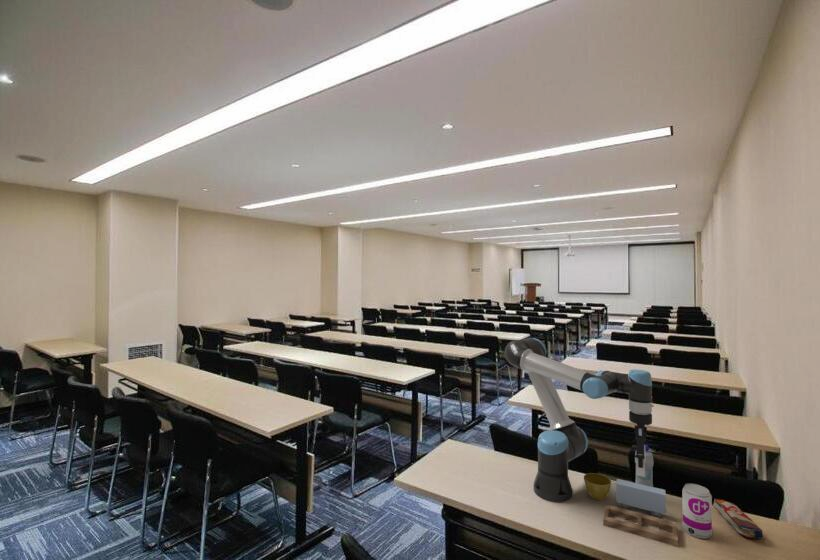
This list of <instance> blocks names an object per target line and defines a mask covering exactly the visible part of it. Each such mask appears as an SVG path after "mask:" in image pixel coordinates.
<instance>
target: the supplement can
mask: <svg viewBox="0 0 820 560" xmlns="http://www.w3.org/2000/svg"><path fill="white" fill-rule="evenodd" d="M681 497H682V498H681V499H682V501H681V502H682V503H681V504H682V506H681V507H682V513H681V515H682V520H681V521H682V523H681V524H682V526H681V527H682V528H683V530H685V532H686V533H687V534H689V535H690V536H692V537H695V538H698V539H702V540H703V539H709V538H710V537H712V535H713V512H712V511H713V501H712V500H713V499H712V498H713V495H712V494H711V493H710V489H708V488H707V487H705V486H704V485H703V486H702V485H700V484H697V483H685V484H684V486H683V488H682V495H681Z"/></svg>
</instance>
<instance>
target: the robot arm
mask: <svg viewBox="0 0 820 560" xmlns="http://www.w3.org/2000/svg"><path fill="white" fill-rule="evenodd" d="M546 356H547V348H546V345H545V344H544V343H543V342H542V341H541V340H540V339H538V338H534V337H526V338H522V339H515V340H511V341H509V342H508V343H507V345H506V346H505V348H504V357H505V360H506V361H507V362H508V364H509V365H511V366H513V367H515V368H517V369H520V370H522V371H523V372H524V373H525V372H526V373H527V374H528V377H529V379H530V381H531V383H532V386H533V387H534V390H535V393H536V394H537V398H538V400H539V402H540V404H541V406H542V409H543V411H544V413H545V415H546V418H547V420H548V423H549V425H550V426H549V429H548V430H545V431H543V432H541V433H539V436H538V439H537V472H536V476H535V478H534V481H533V492H534V493H535V494H536V495H537V496H538V497H540V499H541V498H542V499H544V500H547V501H550V502H555V503H562V502H563V503H564V502H568V501H570V500H571V499H572V498H573V493H574V492H573V491H574V490H573V486H572V483H571V481H570V477H569V462H571V461H573V460H574V459H576V458H578V457H579V458H580V457H581V456H582V455H583V454H584V453H585V452H586V451H587V449H588V445H589V440H588V436H587V434H586V432H585V431H584V430H583V429H582V428H580V427H579V426H577V424H576V422H575V421H574V420H573V419H571V418H570V417H569V415H568V413H567V410H566V408H565V406H564V404H563V402H562V400H561V397H560V395H559V392H558V391H557V388H556V386H555V384H554V382H553V380H554V381H556V382H559V383H562V384H564V385H567V386H569V387H571V388H574V389H577V390H579V391H581V392H583V393H584V394H585V395H586V397H588V398H589V399H593V400H597V399H602V398H604V397H605V396H608V395H610V394H613V393H621V394H626V395H628V410H629V411H628V418H629V421H630V423H633V424H636V425H634V438H635V442H636V445H635V447H636V449H635V453H636V455H635V454H634V456H633V458H634V459H635V458H636V463H635V476H636V475H638V476H643V477H645V463H646V459H645V445H648V442H647V438H646V437H647V434H648V433H647V432H648V430H647V429H648V428H647V426H651V425H652V424H653V414H652V412H653V409H652V408H654V407H655V405H654V404H653V403H652V402H653V397H652V395H653V391H652V390H653V381H652V374H651V373H650V372H649V371H647V370H645V369H630V370H628V373H622V372H617V371H611V370H610V371H609V370H601V369H600V370H598V371H597V373H596V374H593V373H590V372H588V371H585V370H583V369H580V368H577V367H574V366H571V365H569V364H565V363H563V362H560V361H558V360H554V359H552V358H549V357H546ZM644 444H645V445H644Z"/></svg>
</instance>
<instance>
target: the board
mask: <svg viewBox="0 0 820 560" xmlns="http://www.w3.org/2000/svg"><path fill="white" fill-rule="evenodd" d="M604 509H605V510H604V514H603V519H602V521H603V523H602V524H603V526H606V527H609V528H612V529H616V530H620V531H623V532H625V533H630V534H633V535H635V536H636V535H637V536H640V537H643V538H648V539H650V540H654V541H658V542H661V543H664V544H668V545H671V546H675V547H679V536H678V529H677V528H678V527H677V523H676V522H674V521H673V522H672V521H671V520H665V519H664V518H660V517H655V516H650V515H646V514H643V513H640V512H635V511H632V510H630V509H625V508H622V507H617V506H613V505H609V504H606V505H605V508H604ZM610 515H611V516H615V517H619V518H621V519H622V518H623V519H624V520H621V519H617V518H614V517H613V518H612V517H610ZM643 524H644V525H647V526H651V527H655V528H658V529H659V530H655V529H652V528H650V527H646V526H642V525H643Z"/></svg>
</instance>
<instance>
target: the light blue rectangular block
mask: <svg viewBox="0 0 820 560" xmlns="http://www.w3.org/2000/svg"><path fill="white" fill-rule="evenodd" d="M666 496H667V493H666V489H663V488H658V487H654V486H653V487H650V486H646V485H642V484H637V483H635V482H633V481H629V480H623V479H618V478H616V483H615V503H619V506H620V507H619V508H621V509H625V510H630V509H631V507H635V508H638V509H642V510H647V511H650V514H651V515H652V517H655V518H662V517H663V515H666V511H667V509H666V508H667V507H666V504H667V503H666V502H667V499H666V498H667V497H666Z"/></svg>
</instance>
